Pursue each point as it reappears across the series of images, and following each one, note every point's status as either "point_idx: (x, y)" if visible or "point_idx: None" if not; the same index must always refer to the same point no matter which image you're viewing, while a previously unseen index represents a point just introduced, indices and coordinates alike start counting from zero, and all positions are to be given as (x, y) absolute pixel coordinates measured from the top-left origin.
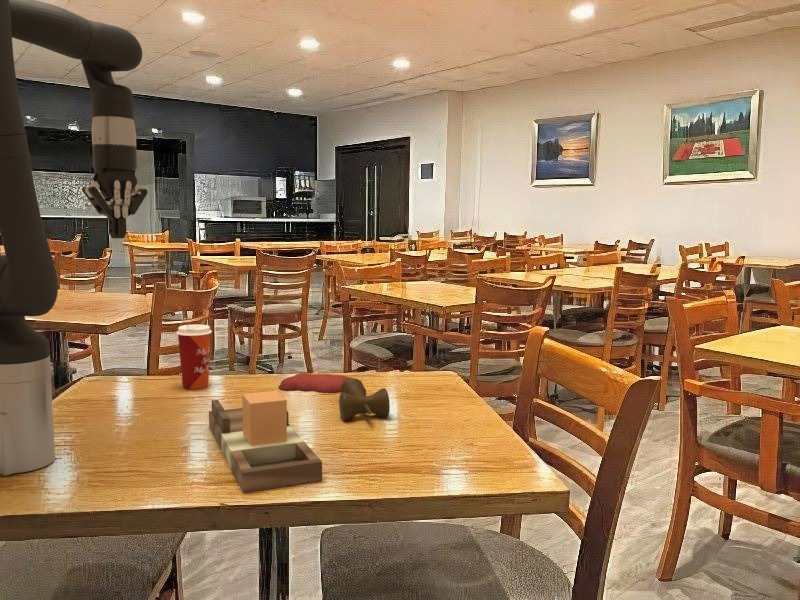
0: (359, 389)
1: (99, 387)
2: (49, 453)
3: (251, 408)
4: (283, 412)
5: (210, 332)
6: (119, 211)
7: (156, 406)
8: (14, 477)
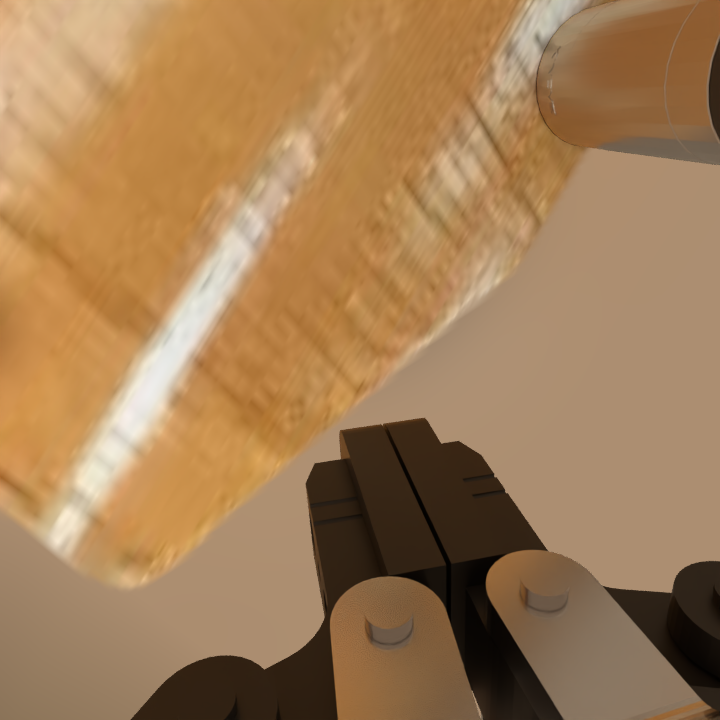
0: None
1: (162, 494)
2: (591, 9)
3: None
4: None
5: None
6: (531, 643)
7: (145, 221)
8: None
